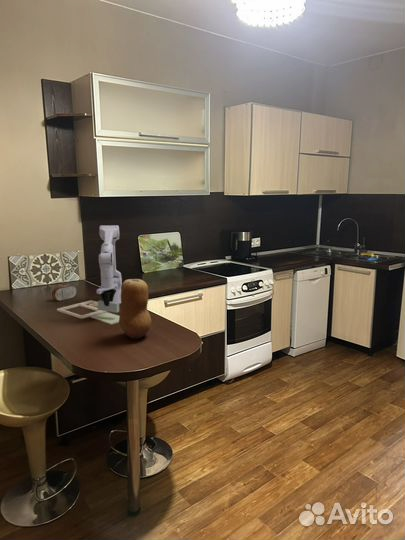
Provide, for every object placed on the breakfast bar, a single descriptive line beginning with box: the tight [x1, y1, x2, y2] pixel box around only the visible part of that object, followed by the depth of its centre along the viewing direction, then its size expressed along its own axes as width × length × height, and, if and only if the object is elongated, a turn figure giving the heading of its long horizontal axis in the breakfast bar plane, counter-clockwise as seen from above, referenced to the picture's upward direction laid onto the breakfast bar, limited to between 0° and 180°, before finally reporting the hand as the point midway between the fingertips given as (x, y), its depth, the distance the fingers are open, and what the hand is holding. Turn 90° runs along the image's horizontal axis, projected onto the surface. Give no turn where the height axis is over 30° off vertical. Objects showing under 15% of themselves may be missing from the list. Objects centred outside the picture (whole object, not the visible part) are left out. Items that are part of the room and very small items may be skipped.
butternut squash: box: [118, 278, 152, 340], centre depth 167 cm, size 14×13×25 cm
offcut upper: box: [88, 303, 98, 308], centre depth 212 cm, size 4×10×1 cm, turn 51°
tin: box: [51, 283, 78, 302], centre depth 228 cm, size 15×3×8 cm, turn 141°
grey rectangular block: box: [97, 299, 120, 313], centre depth 193 cm, size 2×11×4 cm, turn 68°
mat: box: [90, 311, 120, 325], centre depth 194 cm, size 10×16×1 cm, turn 51°
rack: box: [56, 299, 108, 319], centre depth 208 cm, size 21×21×2 cm
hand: (108, 305), depth 193 cm, fingers closed on grey rectangular block, 2 cm apart
